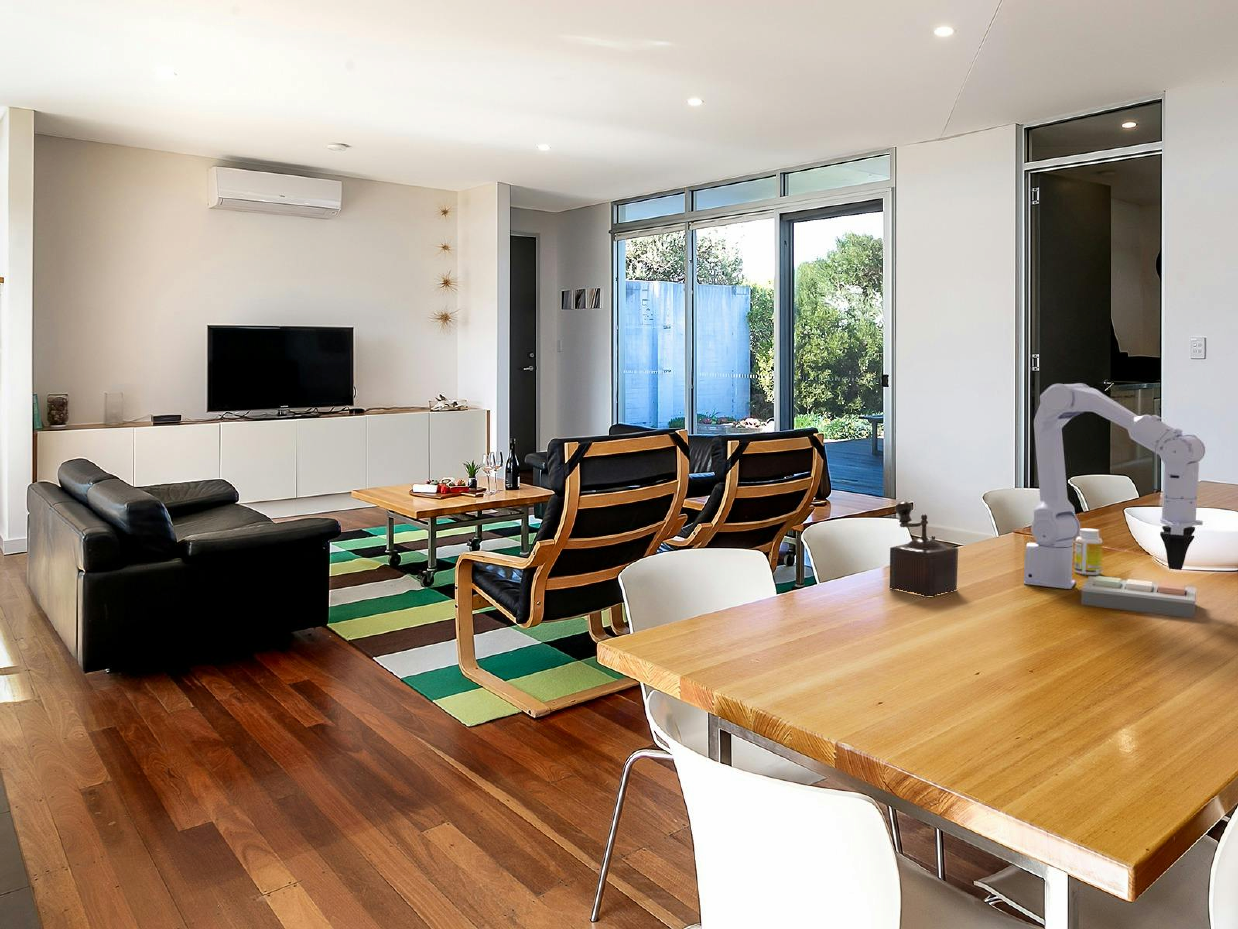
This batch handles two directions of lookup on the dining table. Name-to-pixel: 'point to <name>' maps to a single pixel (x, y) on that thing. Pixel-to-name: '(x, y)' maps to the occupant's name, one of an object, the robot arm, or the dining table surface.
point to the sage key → (1107, 582)
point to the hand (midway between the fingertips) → (1175, 565)
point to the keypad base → (1139, 599)
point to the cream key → (1139, 585)
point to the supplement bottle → (1088, 552)
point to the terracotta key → (1171, 589)
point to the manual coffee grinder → (922, 561)
